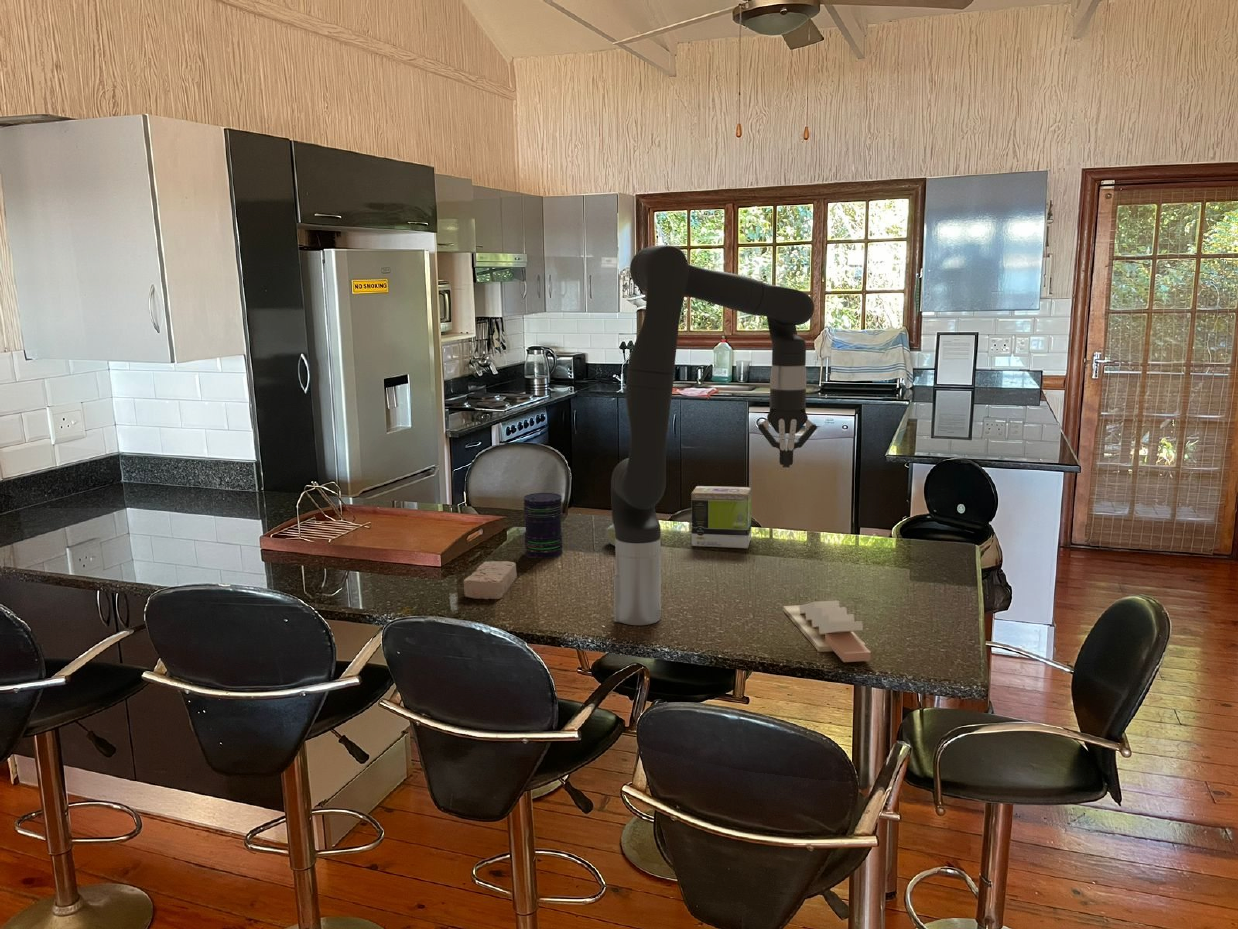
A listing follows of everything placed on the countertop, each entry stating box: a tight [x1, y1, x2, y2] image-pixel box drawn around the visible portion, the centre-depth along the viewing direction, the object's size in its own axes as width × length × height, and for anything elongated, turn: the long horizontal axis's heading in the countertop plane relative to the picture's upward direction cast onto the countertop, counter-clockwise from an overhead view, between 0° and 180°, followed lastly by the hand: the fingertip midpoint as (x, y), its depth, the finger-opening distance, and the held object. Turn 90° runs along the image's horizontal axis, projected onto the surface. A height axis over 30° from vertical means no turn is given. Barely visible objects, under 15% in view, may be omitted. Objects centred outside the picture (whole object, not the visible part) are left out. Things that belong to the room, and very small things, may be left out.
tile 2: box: [805, 606, 848, 621], centre depth 184 cm, size 2×5×10 cm
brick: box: [463, 560, 517, 600], centre depth 213 cm, size 17×8×5 cm, turn 172°
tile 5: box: [825, 632, 872, 663], centre depth 172 cm, size 2×5×10 cm
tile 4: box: [819, 620, 864, 634], centre depth 176 cm, size 2×5×10 cm
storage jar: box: [523, 492, 564, 560], centre depth 240 cm, size 10×10×15 cm
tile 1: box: [799, 600, 840, 614], centre depth 187 cm, size 2×5×10 cm
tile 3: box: [812, 613, 855, 627], centre depth 180 cm, size 2×5×10 cm
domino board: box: [782, 604, 867, 653], centre depth 186 cm, size 23×9×1 cm, turn 7°
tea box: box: [690, 485, 752, 549], centre depth 248 cm, size 15×10×15 cm, turn 77°
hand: (786, 466), depth 201 cm, fingers closed
